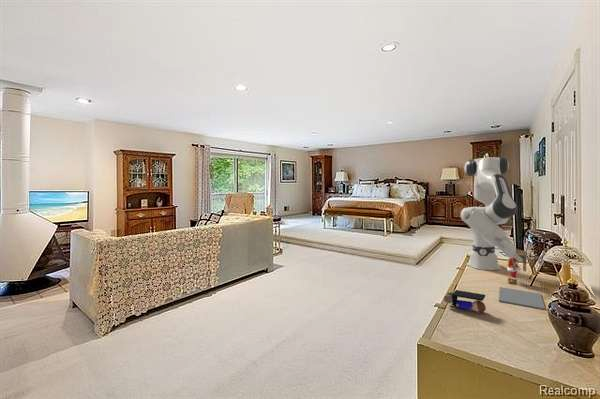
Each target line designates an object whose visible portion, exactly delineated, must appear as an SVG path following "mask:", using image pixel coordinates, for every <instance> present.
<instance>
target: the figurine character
mask: <svg viewBox="0 0 600 399" xmlns="http://www.w3.org/2000/svg"><path fill="white" fill-rule="evenodd" d="M458 297H459V298H463V299H469V300H462V299H461V300H460V299H458ZM485 297H486V294H483V293H476V292H471V291H465V290H458V289H455V290H454V292H453V291H449V292H447V293H446V295H444V297H443V301H444V302H446V303H447V304H451V305H449V308H456V309H457V308H460V309H467V310H473V311H474V312H475V313H478V314H482V313H484V312H485V311H486V304H485V303H484V299H485ZM470 300H473V302H472V301H470Z"/></svg>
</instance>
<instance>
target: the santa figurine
mask: <svg viewBox="0 0 600 399" xmlns="http://www.w3.org/2000/svg"><path fill="white" fill-rule="evenodd" d="M515 249H516V250H519V249H518V248H516V247H515ZM506 257H507V265H506V266H507V267H506V269H507V272H509V275H510V276H511V277H508V278H507V280H508V281H507V283H508V284H510V285H518V283H517V280H518V275H517V273H518V272H520V271H521V266H519V263H520V262H516V270H513V257H510V258H509V257H508V256H506Z"/></svg>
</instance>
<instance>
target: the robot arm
mask: <svg viewBox="0 0 600 399" xmlns="http://www.w3.org/2000/svg"><path fill="white" fill-rule="evenodd" d="M509 167H510V164H509V161H508V159H507V158H506V157H503V156H498V157H495V156H494V157H493V156H492V157H490V156H487V157H481V158H475V159H473V158H472V159H469V160H468V159H467V161H466V162H465V164H464V166H463V170H464V172H465V175H466V176H468V177H473V198H474V199H475V200H476V201H477V202H480V203H483V205H485V206H470V207H464V208H463V209H461V211H460V218H461V221H462V222H464V223H466V224H467V225H468V227H469V228H470V229H471V231H472V237H473V238H472V239H473V244H472V252H470V253H469V262H466V266H468V267H471V268H474V269H476V270H483V271H496V270H498V271H499V270H502V267H501V266H500V264H499V260H498V255H497V254H496V247H497V248H498V249H499V250H500V251H501V252H502V253H503V254H504V255H505V256H506V257H509V258H510V257H514V258H515V259H517V260H518V261H519V263H520V262H521V261H523V259H522V258H521V257H520V256H519V255H518V254H517V253H516V249H517V248H516V245H515V244H514V242H513V241H512V240H511V239H510V238H509V237H508V236H507V234H508V233H507V232H506V231H505V230H504V229H502V228H501V227H500V226H499V225H503V224H507V222H508V221H509V219H510V218H511V217H513V216H514V215H516V214H517V213H518V205H517V203H516V201H515V199H514V198H513V195H512V193H511V190H510V187H509V184H508V181H507V180H508V179H506V177H505V176H504V175H505V174H507V172H508V171H509ZM515 248H516V249H515Z"/></svg>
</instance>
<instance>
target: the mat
mask: <svg viewBox="0 0 600 399" xmlns="http://www.w3.org/2000/svg"><path fill="white" fill-rule="evenodd" d="M498 294H499V295H498V302H499V303H506V304H510V305H515V306H522V307H527V308H532V309H537V310H544V311H546V308H545V305H544V304H545V303H544V301H543V298H542V295H541V293H540V292H535V291H534V292H533V291H526V290H522V289H521V290H520V289H514V288H507V287H503V286H499V293H498Z"/></svg>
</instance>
